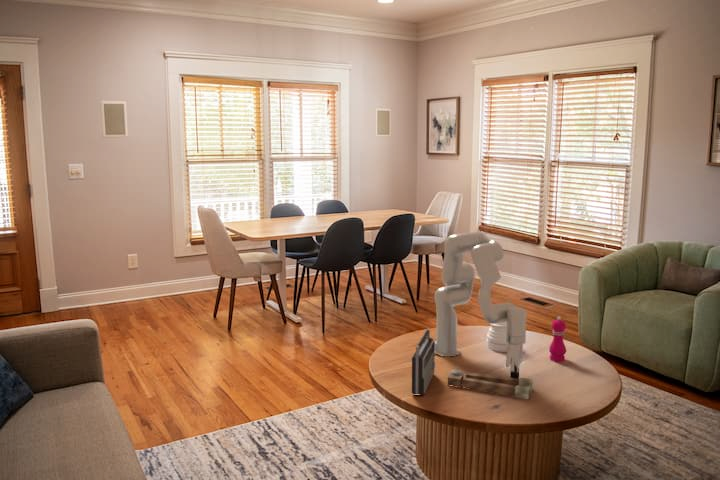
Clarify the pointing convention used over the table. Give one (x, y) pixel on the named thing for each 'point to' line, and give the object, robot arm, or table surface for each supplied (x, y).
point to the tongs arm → (502, 379)
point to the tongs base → (488, 385)
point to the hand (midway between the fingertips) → (514, 381)
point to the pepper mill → (558, 341)
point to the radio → (423, 364)
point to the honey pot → (497, 337)
